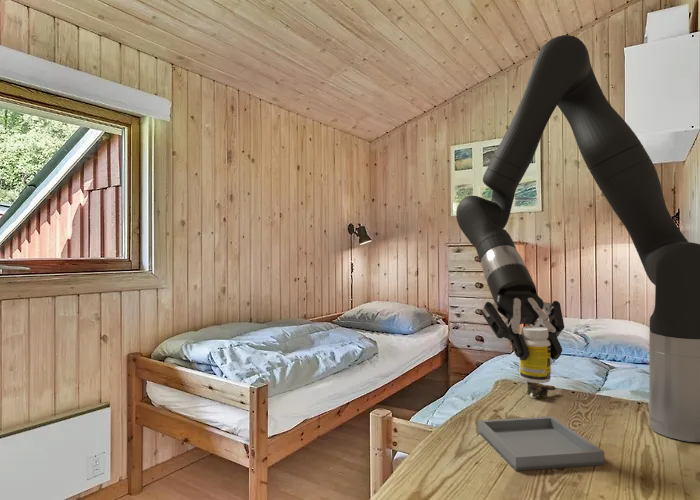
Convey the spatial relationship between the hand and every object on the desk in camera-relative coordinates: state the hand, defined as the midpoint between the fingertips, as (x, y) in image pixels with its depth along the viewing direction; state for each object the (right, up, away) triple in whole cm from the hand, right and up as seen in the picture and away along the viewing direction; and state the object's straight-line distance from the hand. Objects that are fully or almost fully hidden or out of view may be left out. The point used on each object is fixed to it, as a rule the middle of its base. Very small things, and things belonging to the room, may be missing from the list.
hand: (541, 357), depth 73 cm
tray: (0, -15, +2) cm, 15 cm away
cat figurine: (+11, -15, +26) cm, 32 cm away
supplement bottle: (0, -4, +2) cm, 5 cm away
